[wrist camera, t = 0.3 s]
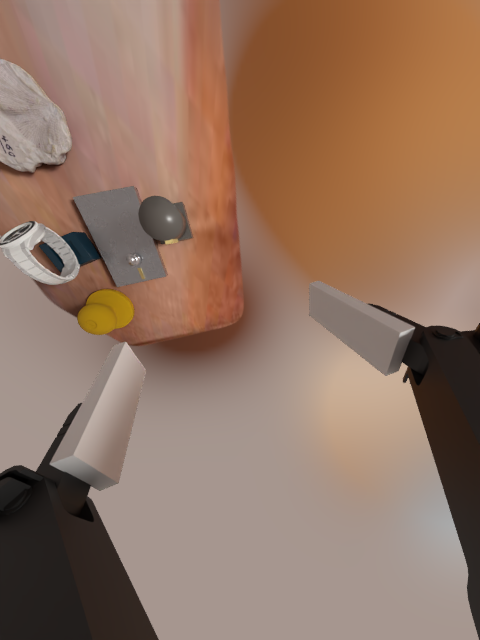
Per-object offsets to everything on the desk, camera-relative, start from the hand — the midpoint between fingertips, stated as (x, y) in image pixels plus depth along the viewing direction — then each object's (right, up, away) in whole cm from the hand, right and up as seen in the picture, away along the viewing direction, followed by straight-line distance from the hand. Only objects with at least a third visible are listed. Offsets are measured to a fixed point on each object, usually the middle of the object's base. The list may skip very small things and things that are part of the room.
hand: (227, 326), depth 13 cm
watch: (-27, +12, +19) cm, 35 cm away
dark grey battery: (-11, +17, +19) cm, 28 cm away
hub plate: (-19, +14, +19) cm, 30 cm away
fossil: (-27, +26, +12) cm, 40 cm away
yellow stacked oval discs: (-25, +3, +23) cm, 34 cm away
